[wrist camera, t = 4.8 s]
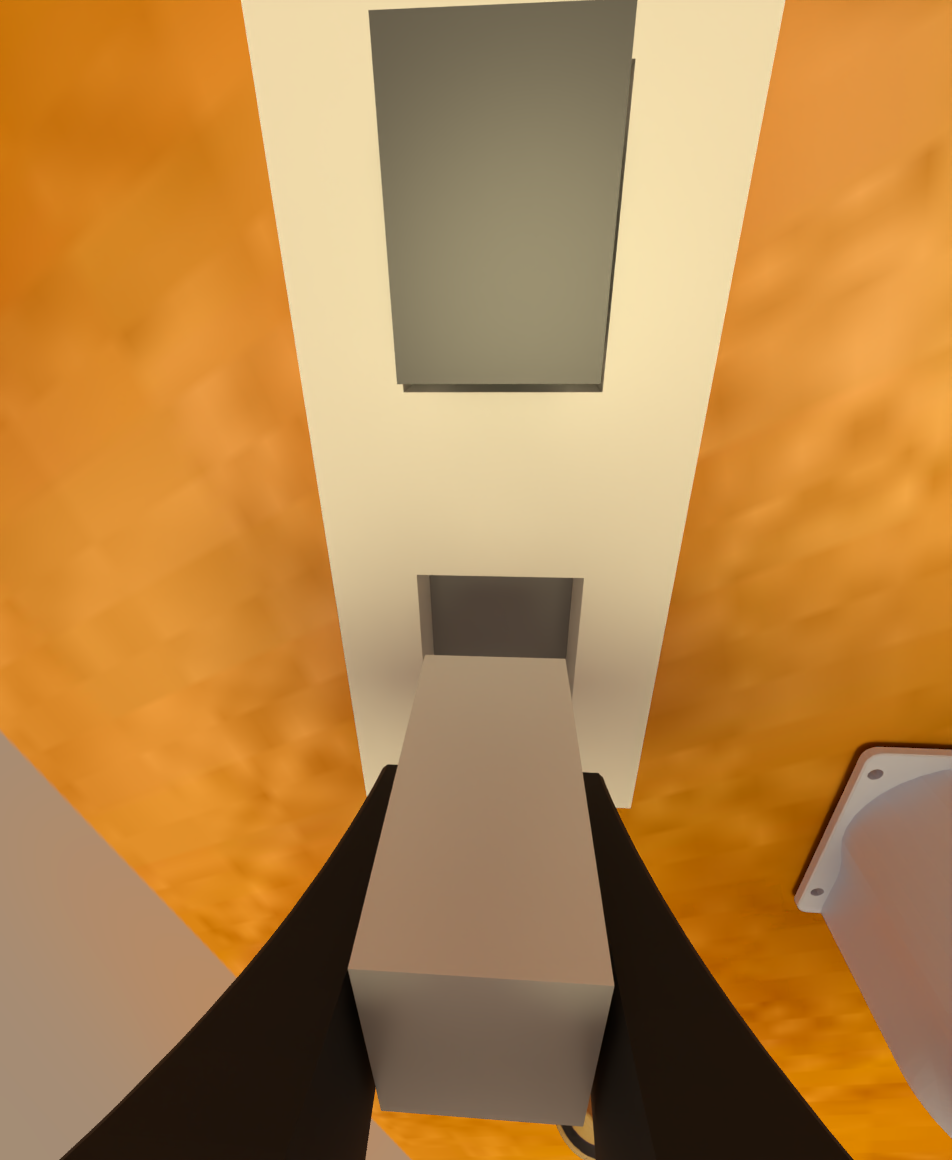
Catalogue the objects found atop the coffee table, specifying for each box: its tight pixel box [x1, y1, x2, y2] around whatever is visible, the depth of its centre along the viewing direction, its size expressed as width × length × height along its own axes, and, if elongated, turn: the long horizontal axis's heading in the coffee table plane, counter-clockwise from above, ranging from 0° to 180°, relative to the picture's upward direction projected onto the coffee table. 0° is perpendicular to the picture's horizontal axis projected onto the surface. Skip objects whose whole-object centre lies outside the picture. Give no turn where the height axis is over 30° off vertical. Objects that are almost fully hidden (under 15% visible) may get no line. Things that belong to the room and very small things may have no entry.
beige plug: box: [348, 655, 614, 1127], centre depth 9 cm, size 4×3×6 cm
